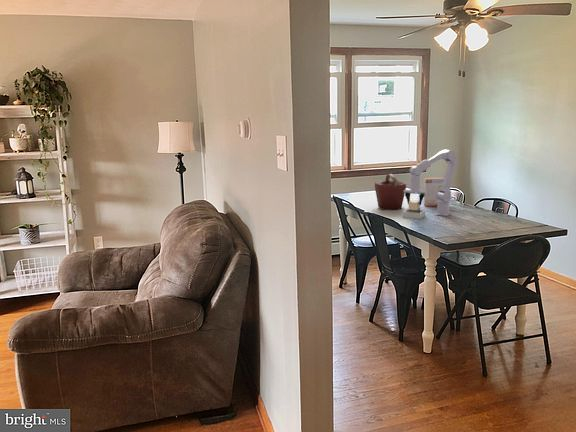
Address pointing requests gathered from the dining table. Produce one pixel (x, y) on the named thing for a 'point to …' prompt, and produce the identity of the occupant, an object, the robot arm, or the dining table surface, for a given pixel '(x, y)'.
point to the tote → (413, 214)
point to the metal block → (415, 211)
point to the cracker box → (432, 190)
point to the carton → (414, 205)
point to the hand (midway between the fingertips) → (414, 204)
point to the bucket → (390, 193)
